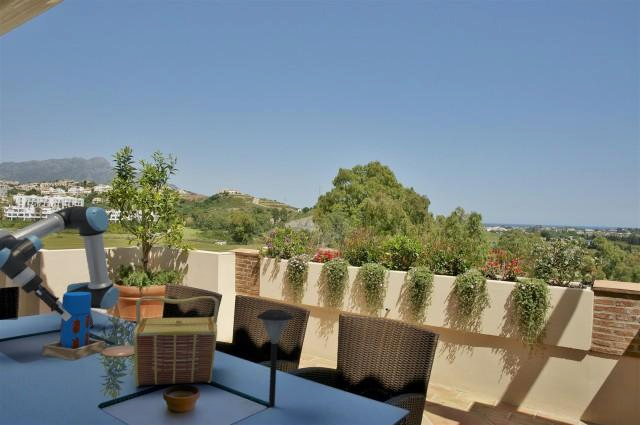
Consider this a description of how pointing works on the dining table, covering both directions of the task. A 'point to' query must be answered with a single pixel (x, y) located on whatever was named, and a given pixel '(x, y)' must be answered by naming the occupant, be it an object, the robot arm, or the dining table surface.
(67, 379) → the dining table surface
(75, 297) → the thermos
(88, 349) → the square frame
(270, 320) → the solar garden light
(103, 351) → the saucer
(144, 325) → the picnic basket
